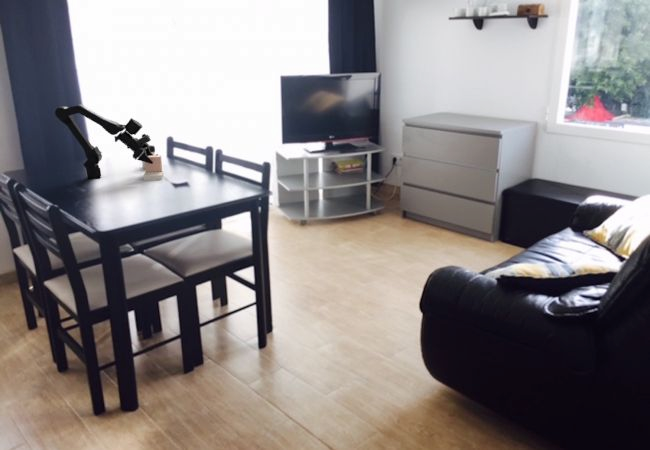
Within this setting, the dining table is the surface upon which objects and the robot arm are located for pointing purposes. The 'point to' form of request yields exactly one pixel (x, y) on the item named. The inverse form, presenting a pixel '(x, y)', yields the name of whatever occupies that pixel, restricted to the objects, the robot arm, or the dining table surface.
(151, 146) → the medicine bottle
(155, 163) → the pink rectangular block
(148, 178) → the board
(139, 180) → the dining table surface
